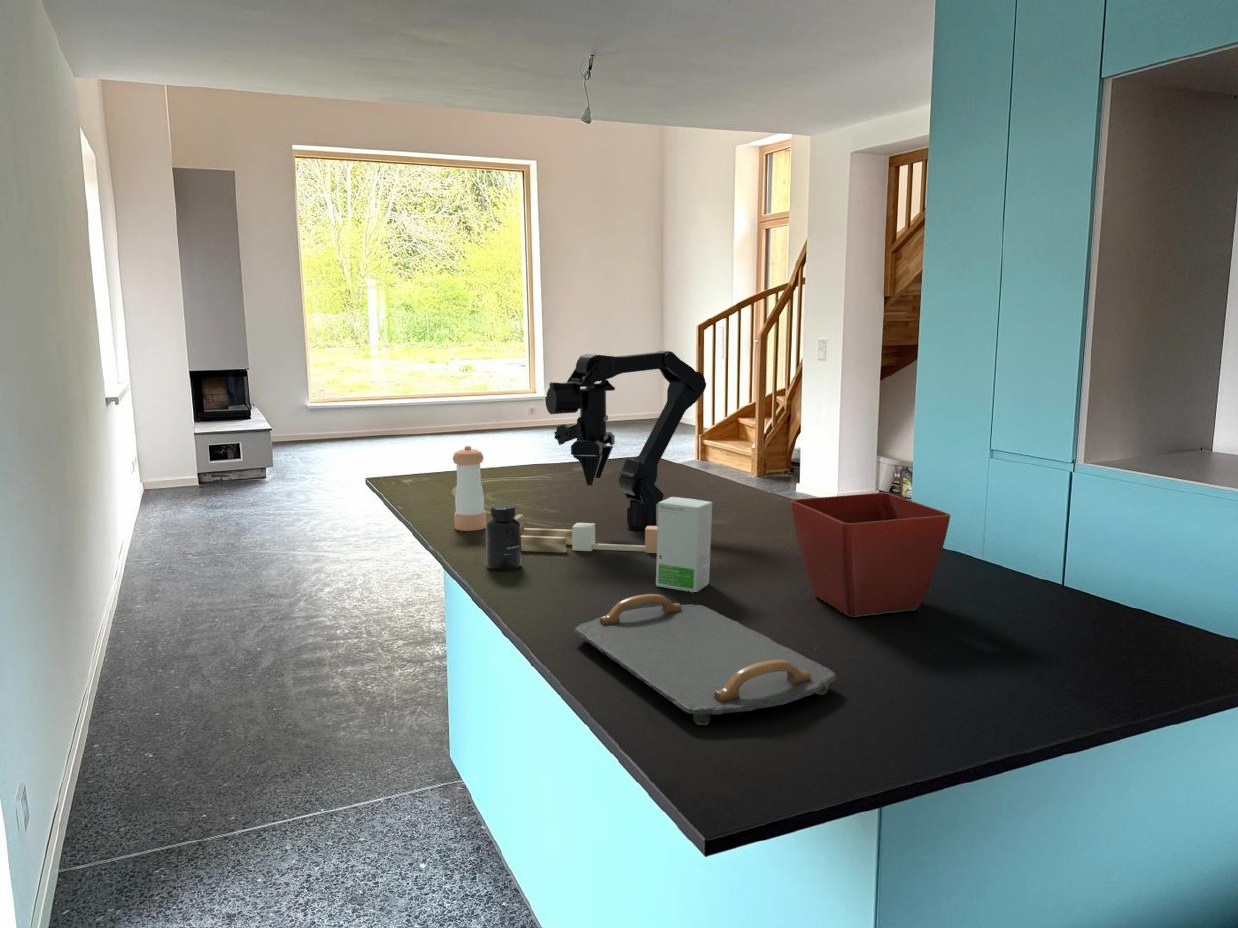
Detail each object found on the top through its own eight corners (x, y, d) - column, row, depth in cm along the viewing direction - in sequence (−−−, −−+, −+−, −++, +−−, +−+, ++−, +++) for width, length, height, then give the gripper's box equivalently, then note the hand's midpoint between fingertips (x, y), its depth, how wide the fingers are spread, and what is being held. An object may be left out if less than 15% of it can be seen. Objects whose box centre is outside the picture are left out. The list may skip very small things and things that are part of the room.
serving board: (562, 639, 134) (562, 600, 133) (691, 615, 145) (691, 578, 144) (702, 745, 101) (702, 693, 100) (857, 703, 111) (858, 656, 110)
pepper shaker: (469, 532, 201) (466, 449, 198) (448, 528, 205) (444, 446, 202) (492, 526, 207) (490, 445, 204) (471, 522, 211) (468, 443, 208)
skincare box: (655, 587, 159) (654, 502, 156) (670, 577, 164) (670, 495, 162) (698, 593, 155) (698, 506, 152) (712, 583, 161) (713, 499, 158)
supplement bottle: (515, 572, 169) (513, 510, 167) (481, 570, 170) (479, 509, 168) (526, 562, 175) (524, 503, 174) (493, 561, 177) (491, 502, 175)
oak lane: (573, 543, 191) (572, 516, 190) (564, 552, 183) (564, 524, 182) (518, 541, 193) (518, 514, 192) (508, 550, 185) (507, 522, 184)
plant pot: (841, 628, 137) (845, 522, 134) (786, 592, 155) (788, 498, 152) (948, 616, 142) (954, 514, 139) (882, 583, 160) (886, 492, 157)
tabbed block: (661, 548, 185) (661, 525, 184) (659, 553, 181) (659, 530, 181) (576, 545, 189) (576, 522, 188) (572, 550, 185) (572, 526, 184)
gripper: (567, 407, 205) (568, 473, 207) (546, 415, 187) (548, 488, 189) (614, 407, 203) (615, 474, 205) (598, 416, 185) (599, 489, 187)
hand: (594, 481), depth 197 cm, fingers open, 9 cm apart
